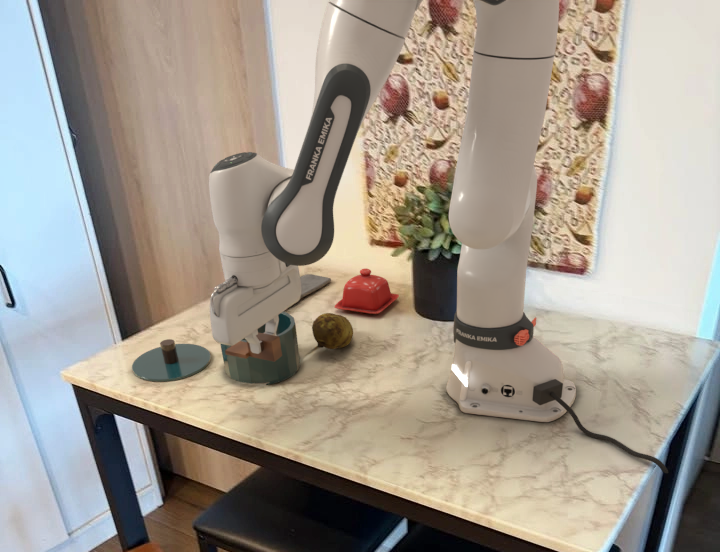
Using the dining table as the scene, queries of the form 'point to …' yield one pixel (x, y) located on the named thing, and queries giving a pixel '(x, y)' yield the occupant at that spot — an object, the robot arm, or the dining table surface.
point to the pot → (265, 369)
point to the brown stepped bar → (269, 353)
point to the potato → (332, 331)
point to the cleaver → (312, 283)
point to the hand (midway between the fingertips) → (264, 346)
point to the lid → (171, 362)
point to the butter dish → (366, 294)
